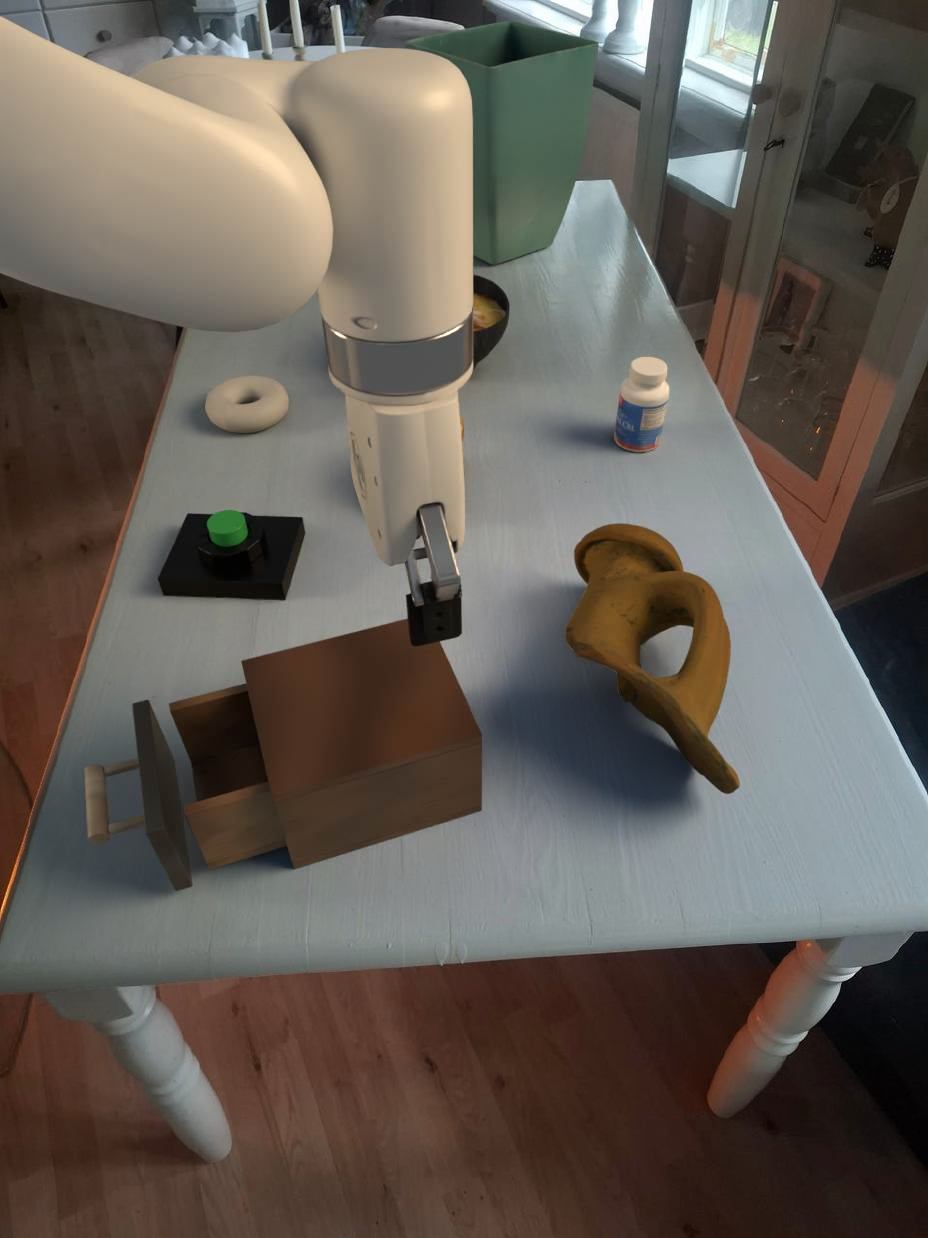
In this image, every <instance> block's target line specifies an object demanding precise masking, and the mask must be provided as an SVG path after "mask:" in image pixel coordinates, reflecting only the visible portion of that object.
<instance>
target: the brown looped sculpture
mask: <svg viewBox="0 0 928 1238" xmlns="http://www.w3.org/2000/svg"><path fill="white" fill-rule="evenodd" d="M573 558H574V559H573V560H574V565H575V568H576V571H577V573H578V575H579V576H580V578H581V579H582V580H583V582H585V584H586V587H585V590H584V592H583V594H582V596H581V598H580V600H579V601H578V603H577V605H576V608H575V609H574V611H573V613H572V615H571V616H570V618H569V620H568V622H567V623H566V626H565V630H564V640H565V642H566V644H567V645H568V647H569V648H570V649H571V650H572V651H573V653H574V655H575V656H577V658H579V659H583V660H587V661H590V662H593V663H596V664H598V665H601V666H603V667H605V668H607V669H610V670H612V671H613V672H615V673H616V688H617V693H618V694H617V695H618V696H619V697H620V699H622V700H623V701H624V702H626V703H630V704H631V705H632V706H633V707H634V708H635V709H636V710H637V711H639V713H640V714H641V715H642V716H643V717H644V718H646V719H647V720H648V721H650V722H653V723H654V724H656V725H658V726H659V727H661V728H662V729H663V730H664V731H665V732H666V733H667V734H668V736H669V737H670V738H671V740H672V741H673V743H674V745H675V747H676V748H677V750H678V751H679V753H680V755H681V756H682V757H683V759H684V760H685V762H687V763H688V764H689V765H690V766H691V767H692V769H694V770H695V772H697V774H699V775H701V776H703V777H704V778H705V779H706V780H707V781H708V782H709V783H710V784H712V785H713V786H714V787H715V788H716V789H717V790H718V791H720V793H722V794H725V795H730V794H733V793H735V792H736V790H738V789H739V788H740V785H741V782H740V778H739V776H738V773H737V772H736V770H735V769H734V768H733V767H732V766H731V765H730V764H729V763H728V762H727V760H726V759H725V758H724V756H723V755H722V754H721V752H720V751H719V749H718V748H717V746H715V744H714V743H713V742H712V741H711V740H710V739H709V733H710V730H711V728H712V725H713V724H714V722H715V720H716V718H717V716H718V713H719V712H720V708H721V705H722V702H723V698H724V695H725V690H726V687H727V681H728V678H729V677H728V676H729V671H730V663H731V654H732V653H731V651H732V650H731V645H732V644H731V635H730V630H729V626H728V624H727V621H726V619H725V617H724V611H723V607H722V604H721V601H720V599H719V597H718V594H717V593H716V591H715V589H714V588H713V587H712V585H711V584H710V583H709V582H708V581H707V580H705V579H704V578H703V577H701V576H700V575H697V574H695V573H692V572H687V571H684V566H683V562H682V560H681V557H680V555H679V553H678V552H677V549H676V548H675V547H674V546H673V544H672V543H671V542H670V541H669V540H668V539H667V538H666V537H665V536H663V535H662V534H660V533H659V532H657V531H655V530H653V529H650V528H647V527H645V526H642V525H636V524H630V523H622V522H621V523H608V524H604V525H601V526H599V527H597V528H594V529H593V530H592V531H590V532H588V533H586V534H585V535H584V536H583V537H582V538H581V540H580V541H579V542H578V543H576V546H575V547H574V553H573ZM678 626H685V627H691V628H692V634H691V635H692V636H691V640H690V645H689V648H688V650H687V653H686V657H685V659H684V662H683V663H682V666H681V667H680V669H679V671H677V673H674V674H672V675H669V676H664V677H660V676H659V677H657V676H653V675H651V674H649V673H648V672H646V671H645V670H644V669H643V668H642V665H641V647H642V646H643V645H644V644H646V642H647V641H648V640H650V639H652V638H653V637H655V636H656V635H659V634H660V633H663V632H665V631H666V630H669V629H672V628H675V627H678Z"/></svg>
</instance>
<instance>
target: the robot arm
mask: <svg viewBox="0 0 928 1238" xmlns="http://www.w3.org/2000/svg"><path fill="white" fill-rule="evenodd" d="M0 274H2V275H4V276H7V277H8V278H9V277H10V278H12V279H14V280H18V281H20V282H23V283H25V284H28V285H32V286H34V287H37V288H40V289H43V290H46V291H49V292H52V293H54V294H55V293H56V294H58V295H62V296H66V297H70V298H73V299H77V300H81V301H85V302H87V303H91V304H93V305H97V306H101V307H104V308H109V309H112V310H116V311H119V312H122V313H125V314H126V313H127V314H130V315H132V316H133V315H134V316H137V317H140V318H145V319H149V320H151V321H156V322H160V323H164V324H169V325H173V326H176V327H181V328H185V329H192V330H198V331H204V332H221V333H240V332H242V333H243V332H249V331H256V330H261V329H263V328H267V327H270V326H273V325H276V324H278V323H280V322H282V321H284V320H285V319H288V318H289V317H291V316H293V315H294V314H296V312H298V311H299V310H300V309H301V308H302V307H303V306H305V305H306V304H307V303H308V302H309V301H310V299H311V298H312V297H313V295H314V294H316V292H317V294H318V303H319V310H320V313H321V314H320V315H321V324H322V330H323V339H324V344H325V352H326V361H327V369H328V374H329V378H330V381H331V383H332V384H333V386H334V387H335V388H336V389H337V390H339V391H340V392H341V393H343V394H344V397H345V410H346V411H345V412H346V422H347V423H346V424H347V433H348V443H349V444H348V446H349V458H350V459H349V460H350V472H351V477H352V483H353V486H354V491H355V493H356V497H357V499H358V503H359V506H360V509H361V512H362V515H363V518H364V520H365V523H366V527H367V529H368V532H369V535H370V538H371V541H372V543H373V546H374V549H375V551H376V554H377V555H378V558H379V560H381V561H382V562H383V563H384V564H385V565H387V566H389V567H394V566H396V565H403V564H404V566H405V570H406V575H407V580H408V585H409V590H410V592H409V593H407V594H405V601H406V602H405V603H406V615H407V616H406V617H407V619H408V629H409V638H410V641H411V644H412V645H413V646H421V645H426V644H430V643H435V642H439V641H440V642H443V641H449V640H453V639H457V638H459V637H460V636H461V635H462V634H463V611H462V610H463V607H462V606H463V605H462V604H463V603H462V602H463V601H462V597H463V590H462V579H461V574H460V570H459V566H458V563H457V559H456V554H457V553H458V552H460V550H461V549H462V547H463V545H464V543H465V534H466V493H465V492H466V490H465V489H466V488H465V476H464V472H465V465H464V466H463V457H464V449H463V450H462V448H463V442H462V436H461V431H462V426H461V423H460V415H461V411H460V401H459V389H461V388H463V387H464V385H465V384H467V382H468V381H469V380H470V378H471V377H472V375H473V372H474V370H473V274H474V255H473V116H472V99H471V94H470V89H469V86H468V83H467V81H466V79H465V77H464V76H463V74H462V73H461V71H460V69H459V68H457V67H456V66H455V65H454V64H453V63H452V62H450V61H449V60H447V59H445V58H443V57H440V56H438V55H435V54H432V53H428V52H424V51H419V50H412V49H405V48H401V47H400V48H399V47H398V48H397V47H375V48H363V49H355V50H349V51H344V52H343V51H342V52H339V53H336V54H333V55H328V56H326V57H323V58H322V59H320V60H285V59H283V60H282V59H281V60H280V59H261V58H250V57H249V58H247V57H237V56H226V55H213V54H183V55H182V54H181V55H174V56H169V57H166V58H163V59H160V60H157V61H154V62H151V63H149V64H148V65H145V66H144V67H143V68H141V69H140V70H138V71H137V72H136V73H134V75H133V76H129V75H125V74H123V73H121V72H118V71H116V70H114V69H111V68H110V67H107V66H105V65H102V64H99V63H97V62H95V61H93V60H91V59H88V58H86V57H85V56H82V55H79V54H77V53H75V52H73V51H71V50H69V49H66V48H65V47H62V46H61V45H58V44H56V43H55V42H52V41H49V40H48V39H45V38H44V37H41V36H39V35H37V34H35V33H33V32H32V31H29V30H28V29H26V28H24V27H22V26H20V25H18V24H16V23H15V22H13V21H11V20H9V19H7V18H5V17H3V16H2V15H0ZM420 538H422V541H423V545H424V547H419V548H414V546H415V543H416V541H417V540H419V539H420ZM413 548H414V549H413ZM424 559H428V563H429V568H430V581H425V582H423V583H422V580H421V576H420V571H419V566H418V565H419V564H418V561H420V560H424Z"/></svg>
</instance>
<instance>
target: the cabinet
mask: <svg viewBox="0 0 928 1238" xmlns="http://www.w3.org/2000/svg"><path fill="white" fill-rule="evenodd" d="M240 662H241V668H242V671H243V676H244V680H245V683H246V685H247V689H248V694H249V698H250V703H251V707H252V711H253V716H254V720H255V724H256V729H257V733H258V738H259V742H260V746H261V751H262V755H263V760H264V764H265V768H266V773H267V777H268V781H269V786H270V790H271V795H272V798H273V802H274V805H275V808H276V812H277V815H278V818H279V821H280V825H281V828H282V831H283V835H284V838H285V841H286V844H287V846H286V847H287V850H288V854H289V858H290V860H291V864H292V868H293V869H294V870H296V869H299V868H303V867H305V866H308V865H311V864H312V865H313V864H315V863H318V862H322V861H325V860H328V859H332V858H334V857H337V856H341V855H344V854H347V853H350V852H354V851H357V850H360V849H363V848H367V847H369V846H373V845H377V844H379V843H383V842H385V841H389V840H392V839H395V838H398V837H401V836H405V835H408V834H412V833H415V832H418V831H421V830H423V829H427V828H431V827H433V826H436V825H439V824H443V823H447V822H449V821H453V820H456V819H459V818H462V817H465V816H468V815H472V814H475V813H478V812H481V811H482V810H483V809H482V808H483V733H482V731H481V728H480V726H479V723H478V722H477V720H476V717H475V716H474V713H473V711H472V709H471V706H470V704H469V702H468V700H467V698H466V695H465V693H464V691H463V688H462V687H461V685H460V682H459V680H458V678H457V675H456V674H455V671H454V670H453V666H452V665H451V663H450V661H449V658H448V656H447V654H446V651H445V649H444V648H443V645H442V643H441V641H439V642H435V643H430V644H426V645H421V646H413V645H412V644H411V641H410V638H409V629H408V618H405V619H404V618H403V619H401V620H397V621H393V622H389V623H385V624H379V625H377V626H373V627H369V628H365V629H361V630H356V631H353V632H349V633H345V634H340V635H337V636H333V637H330V638H329V637H328V638H325V639H321V640H318V641H314V642H313V641H312V642H310V643H306V644H301V645H298V646H294V647H289V648H286V649H282V650H278V651H274V652H271V653H266V654H263V655H258V656H254V657H251V658H246V659H243V660H241V661H240Z"/></svg>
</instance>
